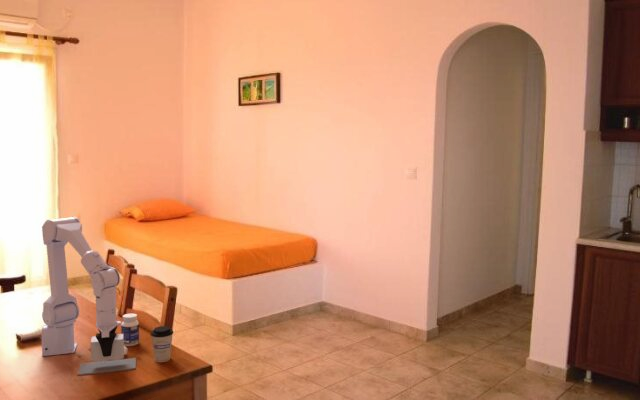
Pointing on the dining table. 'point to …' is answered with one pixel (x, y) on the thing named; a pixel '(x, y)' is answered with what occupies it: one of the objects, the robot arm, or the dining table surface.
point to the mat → (107, 366)
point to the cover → (116, 349)
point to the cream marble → (125, 350)
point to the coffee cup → (162, 343)
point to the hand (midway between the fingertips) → (107, 352)
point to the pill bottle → (130, 329)
